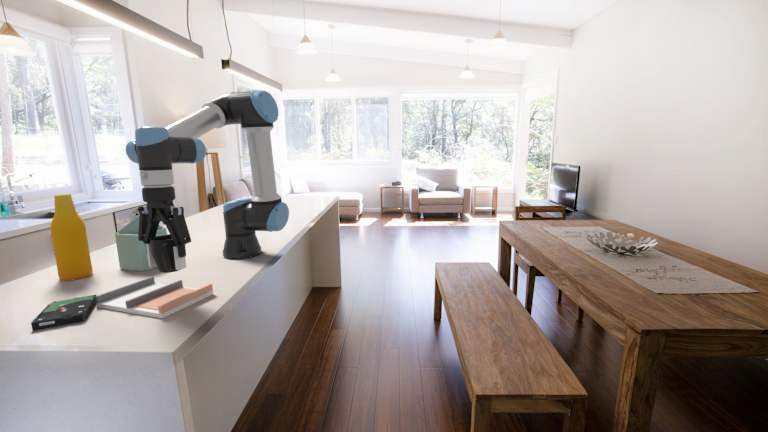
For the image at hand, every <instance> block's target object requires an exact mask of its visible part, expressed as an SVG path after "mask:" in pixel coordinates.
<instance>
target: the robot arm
mask: <svg viewBox="0 0 768 432" xmlns="http://www.w3.org/2000/svg"><path fill="white" fill-rule="evenodd" d="M278 107H279V106H278V104H277V102H276V100H275V98H274V97H273V95H272V94H271V93H269V92H268V91H267V90H260V89H259V90H245V91H236V92H235V91H234V92H229V93H226V94H222V95H220V96H218V97H216V98H214V99H211V100H209V101H207V102H206V103H204V104H203V105H202V106H201V108H200V109H199V110H197V111H195V112H193V113H191V114H189V115H187V116H186V117H183V118H181V119H180V120H178V121H175V122H174V123H172V124H169V125H168V126H166V127H159V126H140V127H136V129H135V131H134V138H133V139H131V140H129V141H128V142H127V144H126V146H125V154H126V156H127V158H128V159H129V160H130V161H131V162H132V163H134V164H138V169H139V177H140V178H139V179H140V185H141V186H143V187H142V188H141V193H142V194H141V196H142V201H143V202H145V203H146V205H142V206H138V207H137V210H138V215H139V234H138V240H139V241H143V242H144V244H145V246H146V253H147V255H148V263H149V267H153V266H156V263H155V260H154V258H153V255H152V251H151V244H150V238H152V237H156V233H157V230H158V226H159V225H160V222H161V223H162V224H163V225H165V228H166V230H167V231H168V234H170V235H171V237H172V239H173V241H174V243H175V245H174V246H173V250H174V258H175V267H176V270H179V271H181V270H182V269H185V268H187V261H186V260H187V259H186V257H187V251H186V250H187V249H186V245H187V244H189V243H191V242H192V239H191V234H190V231H189V228H188V225H187V222H186V218H185V212H184V211H185V208H184V207H183V206H175V205H174V200H176V192H175V191H176V190H175V187H174V186H172V185H174V184H175V181H174V172H173V164H197V163H200V162H202V161H204V159H205V157H206V155H207V152H206V150H207V149H206V145H205V144H204V142H203V141H202V140H201V139H200V137H202V136H204V135H205V134H207V133H209V132H211V131H213V130H214V129H221V128H223V127H225V126H229V125H240V126H241V130H242V131H244V132H245V133H246V141H247V147H248V156H249V164H250V172H251V180H252V187H253V196H252V197H250V198H249V197H248V198H243V199H236V200H235V199H234V200H231V201H230V200H229V201H227V202H224V203H223V207H222V208H223V209H222V210H223V212H222V214H223V221H224V231H225V240H224V245H223V249H222V257H223V256H224V257H225V259H228V258H241V259H246V258H245V257H248V258H251V257H250V256H253V257H255V256H254V255H256V256H258V255H257V254H259V253H260V254H262V246H261V245H260V242H259V239H258V237H257V235H256V231H257V232H269V233H270V232H280V231H282V230H283V229H284V228H285V227H286V226H287V223H288V220H289V216H290V211H289V210H290V209H289V206H288V205H287V203H286V202H283V201H282V196H281V195H280V194H278V192H277V182H276V174H275V172H276V171H275V165H274V157H273V148H272V147H273V146H272V137H271V131H272V130H273V129H274V123H276V122H277V120H278V117H279V108H278ZM143 235H145V236H143ZM179 240H180V241H179ZM260 254H259V255H260ZM224 257H223V258H224ZM180 269H181V270H180Z"/></svg>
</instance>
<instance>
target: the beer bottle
mask: <svg viewBox="0 0 768 432" xmlns="http://www.w3.org/2000/svg"><path fill="white" fill-rule="evenodd" d="M53 199H54V215H53V218H52V220H51V222H50V236H51V241H52V246H53V251H54V252H53V253H54V257H55V262H56V268H57V276H58V279H60V281H66V282H67V281H75V280H81V279H84V278H87V276H88V277H90V276H91V275H93V265H92V260H91V253H90V247H89V242H88V235H87V234H88V233H87V229H86V224H85V222H84V220H83V218H82V217H81V216H80V215H79V213H78V212H77V209H76V207H75V204H74V200H73V197H72V194H70V193H67V194H64V193H62V194H55V195H54V198H53Z"/></svg>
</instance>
